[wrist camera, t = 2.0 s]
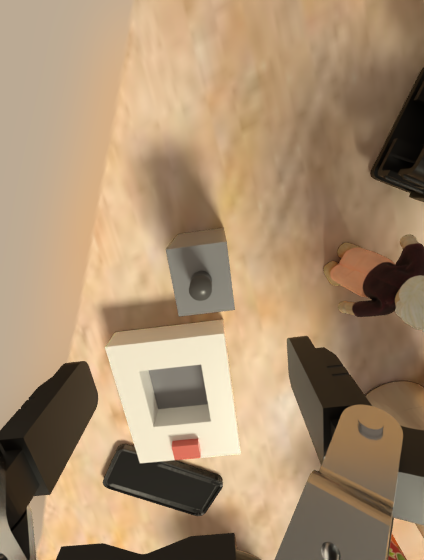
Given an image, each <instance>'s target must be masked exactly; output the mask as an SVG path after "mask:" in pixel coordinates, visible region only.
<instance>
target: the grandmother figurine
mask: <svg viewBox="0 0 424 560" xmlns="http://www.w3.org/2000/svg"><path fill="white" fill-rule="evenodd" d="M400 245H401V246H402V248H403V251H402V253H401V256H400V258H399V260H398V261H397V262H396V264H395V263H394V262H393V261H391V260H390V259H388V258H386V257H384V256H382V255H380V254H378V253H376V252H373V251H369V250H365V249H363V248H361V247H359V246H356V245H353V244H351V243H343V244H342V245H341V246H340V247H339V249H338V251H337V254H338V256H339V257H340V258H341V261H340V263H339V264H338V263H337V262H335V261H331V262H329V263H328V264H326V265H325V267H324V270H323V271H324V274H325V275H326V277H327V279H328V281H329V282H330V284H332V285H334V286H339V285H341V286H343V287H345V288H347V289H348V290H350V291H352V292H354V293H355V294H358V295H360V296H362V297H368V298H370V299H372V300H371V301H360V302H347V301H342V302H340V303H339V305H338V309H339V311H340V312H342V313H348V314H351V315H355V316H357V317H368V316H379V315H387V314H390V313H392V312H394V311H395V313H396V315H397V316H399V317H400V318H401V319H402V320H403V321H404V322H405V323H406V324H408V325H410V326H412V327H413V328H414V329H417V330H422V331H423V332H424V246H423V245H422V244H420V243H418V242H417V240H416V238H415V237H414V236H413V235H405V236H403V237H402V238H401V239H400Z"/></svg>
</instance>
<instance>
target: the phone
mask: <svg viewBox="0 0 424 560" xmlns="http://www.w3.org/2000/svg"><path fill="white" fill-rule="evenodd" d="M103 485H104V486H105V487H106V488H108V489H111V490H114V491H118V492H121V493H124V494H127V495H130V496H134V497H137V498H140V499H143V500H146V501H150V502H153V503H156V504H159V505H162V506H166V507H169V508H172V509H175V510H178V511H182V512H185V513H188V514H191V515H194V516H202V515H204V514H205V513H206V511H207V510H208V508H209V507H210V505H211V504H212V502H213V501H214V499H215V498H216V496H217V495H218V493H219V492H220V490H221V489H222V487H223V482H222V477H221V476H219V475H217V474H214V473H211V472H208V471H205V470H202V469H199V468H196V467H194V466H191V465H188V464H185V463H182V462H179V461H176V460H171V461H160V462H149V463H140V462H139V459H138V456H137V452H136V449H135V447H134V446H131V445H128V444H123V445H120V446H119V447H118V449H117V451H116V453H115V455H114V457H113V459H112V462H111V464H110V466H109V468H108V470H107V473H106V475H105V477H104V480H103Z"/></svg>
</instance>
